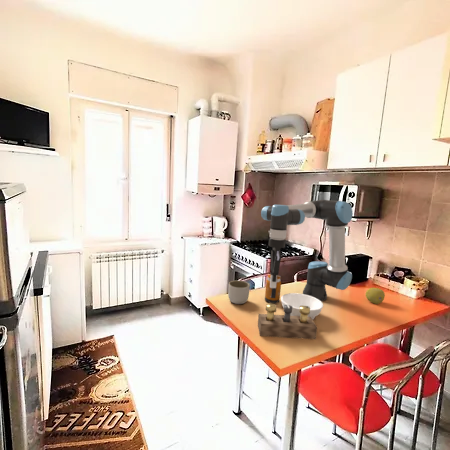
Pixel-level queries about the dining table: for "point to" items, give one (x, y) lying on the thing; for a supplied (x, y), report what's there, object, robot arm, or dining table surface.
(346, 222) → the robot arm
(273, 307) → the knob
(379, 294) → the fruit
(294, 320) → the mount
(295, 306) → the bowl
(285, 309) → the pot knob
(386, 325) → the dining table surface
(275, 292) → the canister
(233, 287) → the planter
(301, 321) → the knob
